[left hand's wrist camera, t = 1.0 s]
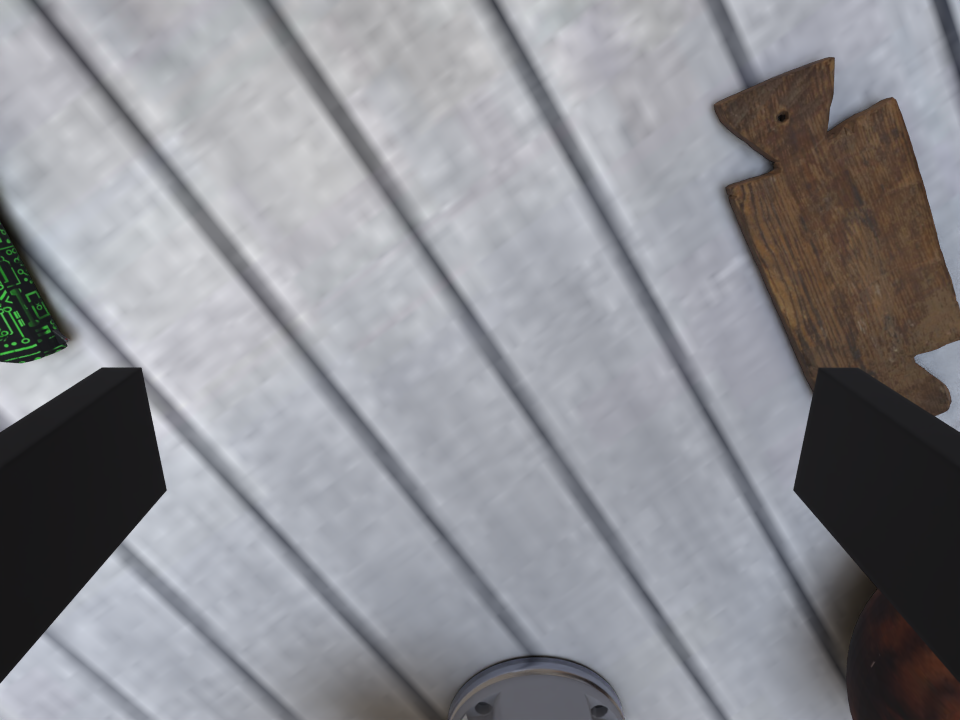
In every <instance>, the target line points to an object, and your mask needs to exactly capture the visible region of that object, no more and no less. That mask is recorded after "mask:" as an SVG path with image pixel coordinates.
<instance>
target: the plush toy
mask: <svg viewBox="0 0 960 720" xmlns="http://www.w3.org/2000/svg"><path fill="white" fill-rule="evenodd" d="M846 681H847V693H848V701H849V707H850V712H851V715H852V719H853V720H960V683H959V682H958V681H957V680H956V678H955V677H954V676H953V675H952V674H951V673H950V671H949V670H948V669H947V668H946V667H945V666H944V664H943V663H942V662H941V661H940V660H939V659H938V658H937V656H936V655H935V654H934V653H933V652H932V651H931V649H930V648H929V647H928V646H927V645H926V644H925V642H924V641H923V640H922V639H921V638H920V637H919V635H918V634H917V633H916V632H915V631H914V630H913V629H912V627H911V626H910V625H909V624H908V623H907V622H906V620H905V619H904V618H903V617H902V616H901V615H900V613H899V612H898V611H897V610H896V609H895V608H894V606H893V605H892V604H891V603H890V602H889V601H888V600H887V598H886V597H885V596H884V595H883V594H882V593H881V591H880V590H879V589H877V590H876V591H875V593H874V594H873V595H872V597H871V598H870V599H869V601H868V602H867V604H866V606H865V607H864V609H863V611H862V613H861V615H860V617H859V619H858V621H857V624H856V626H855V628H854V631H853V635H852V639H851V642H850V646H849V652H848V658H847V676H846Z"/></svg>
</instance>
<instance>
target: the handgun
mask: <svg viewBox="0 0 960 720" xmlns="http://www.w3.org/2000/svg"><path fill="white" fill-rule="evenodd" d="M67 341H69V339H68V338H66V337H65V336H64V335H63V334H61V333H60V331H59V329H58V327H57V325H56V323H55V322H54V320H53V318H52V316H51V315H50V313H49V311H48V309H47V307H46V305H45V304H44V302H43V300H42V298H41V296H40V294H39V292H38V290H37V288H36V287H35V285H34V283H33V281H32V279H31V277H30V275H29V273H28V271H27V270H26V268H25V266H24V264H23V262H22V260H21V258H20V256H19V254H18V253H17V251H16V249H15V247H14V245H13V243H12V241H11V239H10V238H9V236H8V234H7V232H6V230H5V229H4V227H3V225H2V223H1V221H0V362H10V363H25V362H30V361H33V360H37V359H40V358H42V357H45V356H48V355H50V354H53V353H55V352H58V351H60V350H62V349H64V348H65V347H67V344H66V342H67Z"/></svg>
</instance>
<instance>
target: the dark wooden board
mask: <svg viewBox="0 0 960 720" xmlns="http://www.w3.org/2000/svg"><path fill="white" fill-rule="evenodd" d="M834 66H835V57H828V58H824V59H821V60H818V61H815V62H812V63H809V64H807V65H804V66H802V67H799V68H796V69H793V70H791V71H788V72H786V73H783V74H781V75H778V76H776V77H774V78H771V79H769V80H766V81H764V82H762V83H759V84H757V85H755V86H753V87H750V88H748V89H746V90H744V91H741V92H739V93H737V94H734V95H732V96H729V97H727V98H725V99H723V100H721V101H719V102H717V103H715V104H714V107H715V111H716V113H717V116H718V118H719V120H720V122H721V123H722V124H723V125H724V126H725V127H726V128H727V129H729V130H730V131H731V132H732V133H733V134H735V135H736V136H737V137H738V138H740V139H742V140H743V141H745V142H746V143H747V144H748V145H749V146H750V147H752V148H753V149H754V150H755V151H757V152H759V153H760V154H761V155H763V156H764V157H765V158H766V159H768V160H770V161H772V162H775V163H774V164H773V166H774V169H773V170H772V171H770V172H769V173H766V174H763V175H761V176H758V177H754V178H750V179H747V180H743V181H740V182H737V183H734V184H731V185H729V186H727V187H726V191H727V194H728V195H729V201H730V204H731V206H732V208H733V211H734V213H735V216H736V218H737V221H738V223H739V225H740V228H741V230H742V233H743V235H744V237H745V240H746V242H747V244H748V246H749V248H750V250H751V253H752V255H753V258H754V260H755V262H756V264H757V266H758V268H759V271H760V273H761V275H762V278H763V280H764V282H765V285H766V287H767V289H768V291H769V293H770V295H771V298H772V301H773V303H774V306H775V308H776V310H777V312H778V314H779V316H780V318H781V320H782V323H783V325H784V328H785V330H786V332H787V335H788V337H789V340H790V342H791V344H792V347H793V349H794V352H795V354H796V357H797V359H798V361H799V363H800V365H801V367H802V370H803V372H804V375H805V377H806V379H807V381H808V383H809V385H810V387H811V388H812V390H813V392H814V387H815V382H816V377H817V373H818V368H859V369H861V370H863V371H864V372H866V373H867V374H869V375H870V376H872V377H874V378H875V379H877V380H878V381H880V382H881V383H883V384H885V385H886V386H888V387H889V388H891V389H892V390H894V391H896V392H897V393H899V394H900V395H902V396H903V397H905V398H907V399H908V400H910V401H911V402H913V403H914V404H916V405H918V406H919V407H921V408H922V409H924V410H925V411H927V412H929V413H930V414H932V415H933V416H936V415H939V414H941V413H944V412H946V411H947V410H948V409H949V407H950V404H951V402H952V401H951V396H950V392H949V390H948V388H947V386H946V385H945V384H944V383H942V382H941V381H940V380H938V379H937V378H936V377H934V376H933V375H931V374H930V373H929V372H927V371H926V370H925V369H924V368H922V367H921V366H919V365H918V364H917V363H915V359H914V357H915V356H916V355H918V354H921V353H926V352H929V351H933V350H936V349H939V348H940V347H942V346H944V345H946V344H949V343H952V342H955V341H958V340H960V309H959V305H958V302H957V301H956V295H955V291H954V288H953V284H952V280H951V277H950V274H949V272H948V269H947V267H946V264H945V260H944V257H943V254H942V251H941V249H940V245H939V241H938V237H937V232H936V229H935V225H934V221H933V217H932V213H931V209H930V206H929V203H928V199H927V195H926V191H925V187H924V184H923V180H922V177H921V174H920V171H919V168H918V164H917V160H916V157H915V154H914V151H913V147H912V144H911V141H910V138H909V135H908V132H907V129H906V126H905V123H904V120H903V117H902V114H901V111H900V109H899V106H898V104H897V101H896V99H894V98H893V97H891V98H886V99H884V100H881V101H879V102H878V103H876V104H875V105H873V106H871V107H870V108H868V109H866V110H864V111H862V112H859V113H857V114H855V115H853V116H851V117H849V118H848V119H846V120H845V121H843V122H841V123H840V124H838V125H837V126H835V127H834V128H833V129H831V130H830V131H828V132H827V128H828V121H829V112H830V106H831V103H832V99H833V93H834ZM780 115H781V116H780ZM778 116H780V121H779V120H778Z"/></svg>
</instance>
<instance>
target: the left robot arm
mask: <svg viewBox="0 0 960 720" xmlns="http://www.w3.org/2000/svg"><path fill="white" fill-rule="evenodd" d="M166 490H167V489H166V484H165V480H164V475H163V470H162V465H161V460H160V455H159V450H158V446H157V441H156V436H155V431H154V426H153V421H152V416H151V412H150V407H149V402H148V397H147V392H146V387H145V382H144V377H143V373H142V368H101V369H99V370H97V371H96V372H94V373H93V374H91V375H90V376H88V377H86V378H85V379H83V380H82V381H80V382H79V383H77V384H75V385H74V386H72V387H71V388H69V389H68V390H66V391H64V392H63V393H61V394H60V395H58V396H57V397H55V398H53V399H52V400H50V401H49V402H47V403H46V404H44V405H42V406H41V407H39V408H38V409H36V410H35V411H33V412H31V413H30V414H28V415H27V416H25V417H24V418H22V419H20V420H19V421H17V422H16V423H14V424H13V425H11V426H9V427H8V428H6V429H5V430H3V431H2V432H0V683H1V682H2V681H3V680H4V678H5V677H6V676H7V675H8V674H9V673H10V671H11V670H12V669H13V668H14V667H15V666H16V664H17V663H18V662H19V661H20V660H21V659H22V658H23V656H24V655H25V654H26V653H27V652H28V651H29V649H30V648H31V647H32V646H33V645H34V644H35V642H36V641H37V640H38V639H39V638H40V637H41V635H42V634H43V633H44V632H45V631H46V630H47V629H48V627H49V626H50V625H51V624H52V623H53V622H54V620H55V619H56V618H57V617H58V616H59V615H60V613H61V612H62V611H63V610H64V609H65V608H66V606H67V605H68V604H69V603H70V602H71V601H72V600H73V598H74V597H75V596H76V595H77V594H78V593H79V591H80V590H81V589H82V588H83V587H84V586H85V584H86V583H87V582H88V581H89V580H90V579H91V577H92V576H93V575H94V574H95V573H96V572H97V571H98V569H99V568H100V567H101V566H102V565H103V564H104V562H105V561H106V560H107V559H108V558H109V557H110V555H111V554H112V553H113V552H114V551H115V550H116V548H117V547H118V546H119V545H120V544H121V543H122V542H123V540H124V539H125V538H126V537H127V536H128V535H129V533H130V532H131V531H132V530H133V529H134V528H135V526H136V525H137V524H138V523H139V522H140V521H141V519H142V518H143V517H144V516H145V515H146V514H147V513H148V511H149V510H150V509H151V508H152V507H153V506H154V504H155V503H156V502H157V501H158V500H159V499H160V497H161V496H162V495H163V494H164V493H165V492H166ZM793 490H794V492H795V493H796V494H797V495H798V496H799V497H800V499H801V500H802V501H803V502H804V503H805V504H806V506H807V507H808V508H809V509H810V510H811V511H812V513H813V514H814V515H815V516H816V517H817V518H818V519H819V521H820V522H821V523H822V524H823V525H824V526H825V528H826V529H827V530H828V531H829V532H830V533H831V535H832V536H833V537H834V538H835V539H836V540H837V542H838V543H839V544H840V545H841V546H842V547H843V548H844V550H845V551H846V552H847V553H848V554H849V555H850V557H851V558H852V559H853V560H854V561H855V562H856V564H857V565H858V566H859V567H860V568H861V569H862V571H863V572H864V573H865V574H866V575H867V576H868V577H869V579H870V580H871V581H872V582H873V583H874V584H875V586H876V587H877V588H878V589H879V590H880V591H881V593H882V594H883V595H884V596H885V597H886V598H887V600H888V601H889V602H890V603H891V604H892V605H893V606H894V608H895V609H896V610H897V611H898V612H899V613H900V615H901V616H902V617H903V618H904V619H905V620H906V622H907V623H908V624H909V625H910V626H911V627H912V629H913V630H914V631H915V632H916V633H917V634H918V635H919V637H920V638H921V639H922V640H923V641H924V642H925V644H926V645H927V646H928V647H929V648H930V649H931V651H932V652H933V653H934V654H935V655H936V656H937V658H938V659H939V660H940V661H941V662H942V663H943V664H944V666H945V667H946V668H947V669H948V670H949V671H950V673H951V674H952V675H953V676H954V677H955V678H956V680H957V681H958V682H959V683H960V432H958V431H957V430H955V429H954V428H952V427H951V426H949V425H947V424H946V423H944V422H943V421H941V420H940V419H938V418H936V417H935V416H933V415H932V414H930V413H929V412H927V411H925V410H924V409H922V408H921V407H919V406H918V405H916V404H914V403H913V402H911V401H910V400H908V399H907V398H905V397H903V396H902V395H900V394H899V393H897V392H896V391H894V390H892V389H891V388H889V387H888V386H886V385H885V384H883V383H881V382H880V381H878V380H877V379H875V378H874V377H872V376H870V375H869V374H867V373H866V372H864V371H863V370H861V369H859V368H818V373H817V377H816V382H815V387H814V392H813V397H812V402H811V407H810V412H809V416H808V421H807V426H806V431H805V436H804V441H803V446H802V450H801V455H800V460H799V465H798V470H797V475H796V480H795V484H794V489H793ZM448 720H625V718H624V714H623V710H622V706H621V703H620V700H619V698H618V696H617V694H616V693H615V691H614V690H613V689H612V687H611V686H610V685H609V684H608V683H607V682H606V681H605V680H604V679H603V678H602V677H600V676H599V675H598V674H596V673H594V672H593V671H591V670H589V669H587V668H585V667H583V666H581V665H578V664H576V663H573V662H569V661H566V660H561V659H555V658H545V657H530V658H521V659H514V660H510V661H506V662H503V663H500V664H497V665H494V666H492V667H490V668H488V669H486V670H484V671H482V672H480V673H479V674H477V675H475V676H474V677H473V678H471V679H470V680H469V681H468V682H467V683H466V684H465V685H464V686H463V687H462V688H461V689H460V690H459V692H458V693H457V694H456V696H455V698H454V700H453V701H452V704H451V706H450V709H449V714H448Z"/></svg>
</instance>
